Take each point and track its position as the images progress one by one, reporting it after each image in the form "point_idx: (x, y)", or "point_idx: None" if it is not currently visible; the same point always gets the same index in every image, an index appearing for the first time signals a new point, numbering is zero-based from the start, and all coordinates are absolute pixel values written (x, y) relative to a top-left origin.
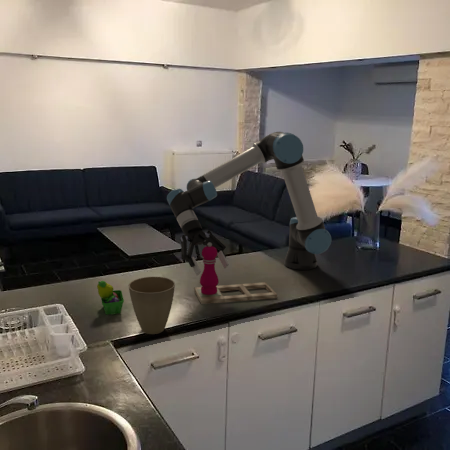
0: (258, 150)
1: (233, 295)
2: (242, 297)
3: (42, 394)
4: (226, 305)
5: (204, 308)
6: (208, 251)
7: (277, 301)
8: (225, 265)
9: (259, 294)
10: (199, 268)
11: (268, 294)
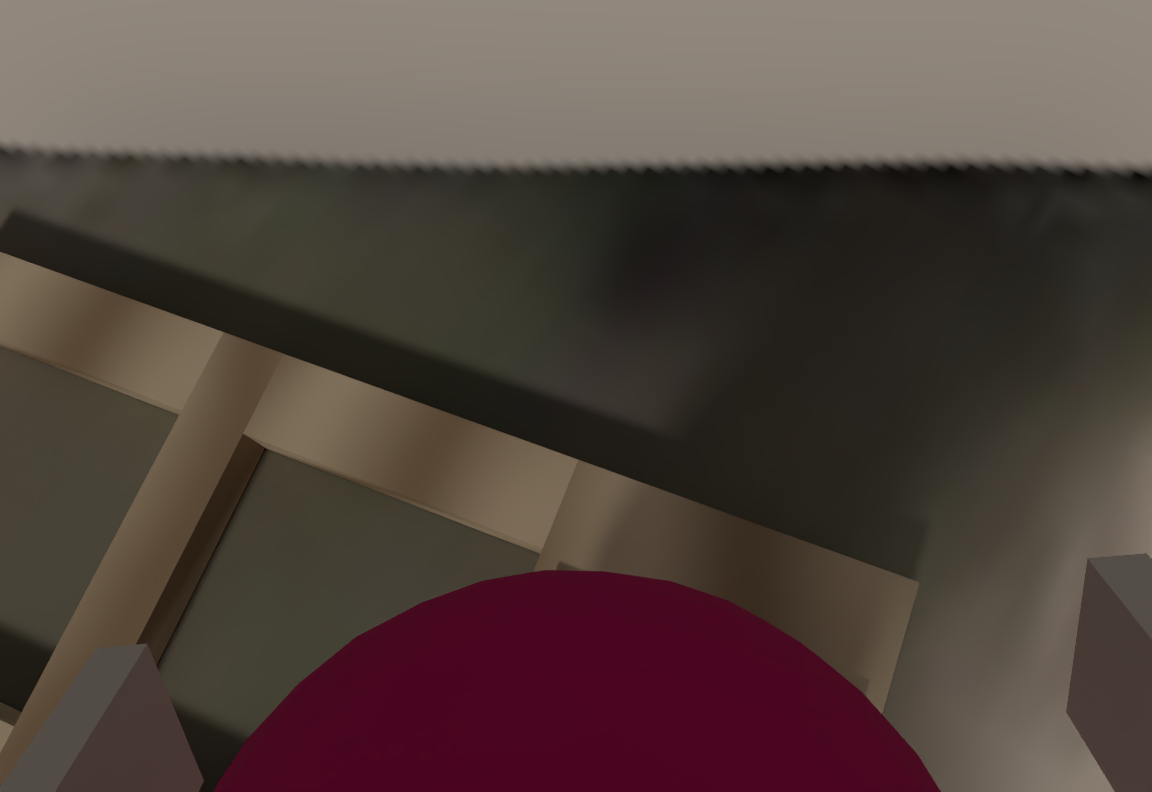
0: None
1: (403, 489)
2: (347, 377)
3: None
4: (622, 378)
5: (932, 443)
6: (834, 701)
7: (59, 180)
8: (162, 733)
9: (107, 339)
10: (1148, 620)
11: (25, 281)
